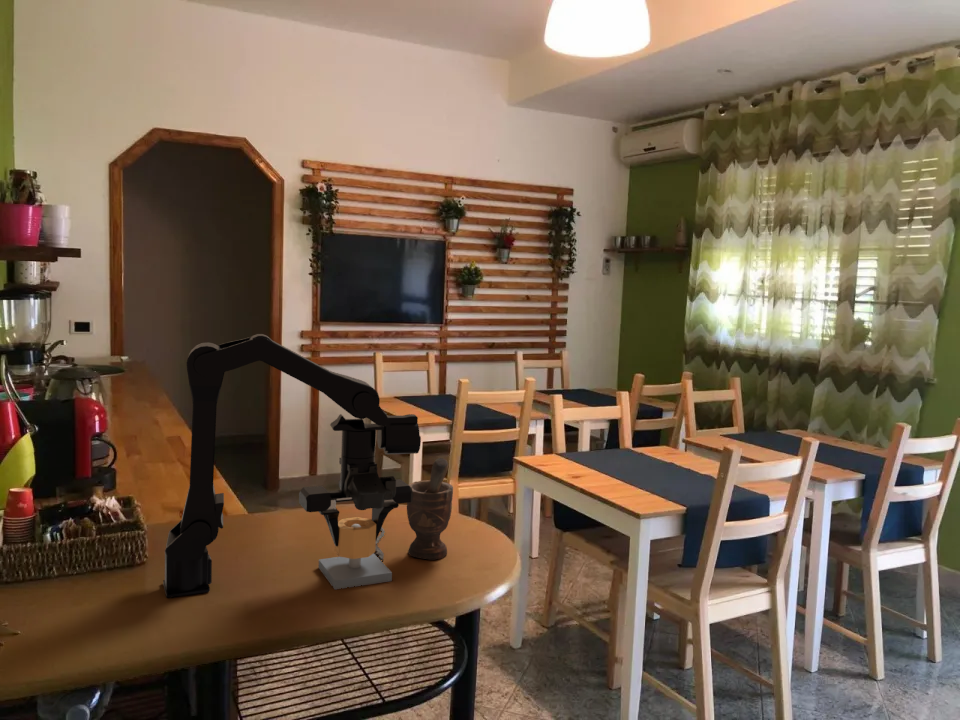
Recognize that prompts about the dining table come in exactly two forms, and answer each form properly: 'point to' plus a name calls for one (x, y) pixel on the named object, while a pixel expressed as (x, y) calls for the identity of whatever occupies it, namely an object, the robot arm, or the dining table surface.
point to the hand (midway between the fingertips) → (355, 543)
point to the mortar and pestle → (430, 513)
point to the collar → (356, 538)
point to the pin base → (354, 570)
